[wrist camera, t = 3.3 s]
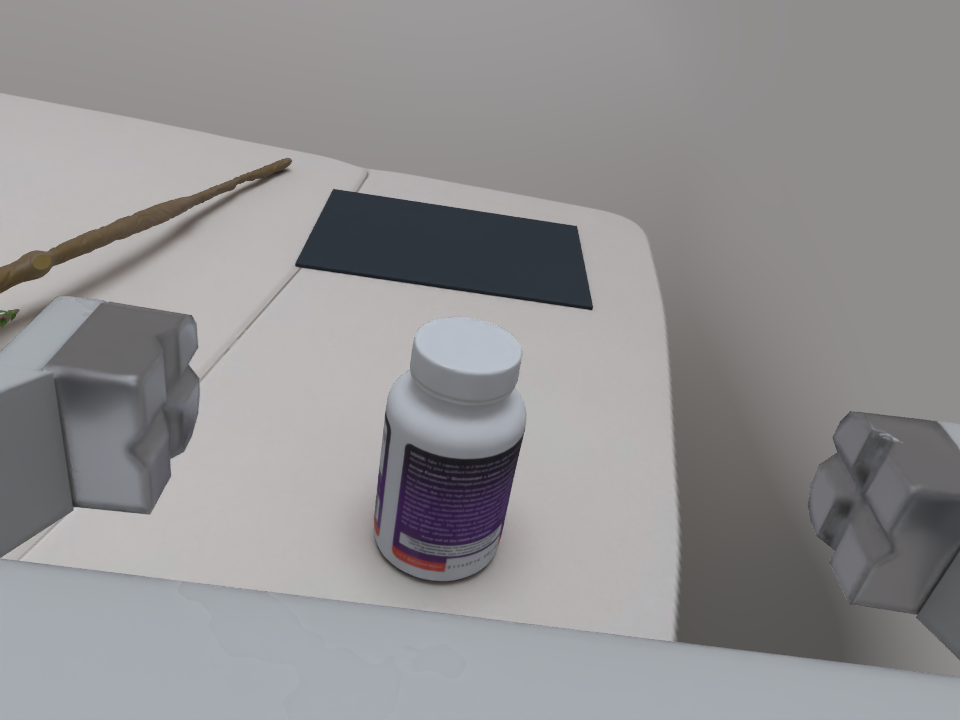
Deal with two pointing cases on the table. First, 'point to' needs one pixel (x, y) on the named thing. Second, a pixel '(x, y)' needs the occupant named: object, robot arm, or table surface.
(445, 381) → the pill bottle
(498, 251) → the mat
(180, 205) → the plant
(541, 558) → the table surface
